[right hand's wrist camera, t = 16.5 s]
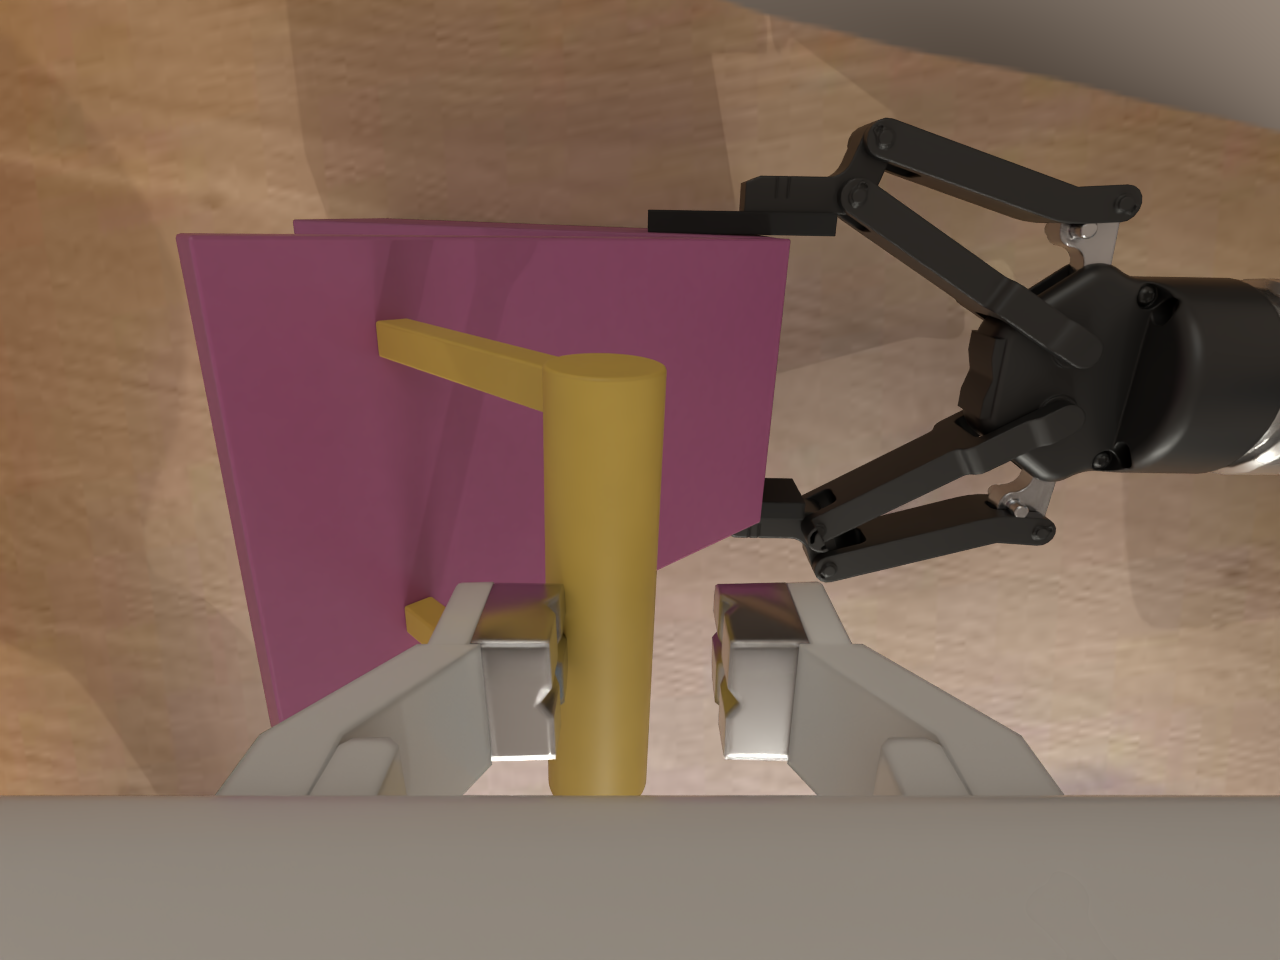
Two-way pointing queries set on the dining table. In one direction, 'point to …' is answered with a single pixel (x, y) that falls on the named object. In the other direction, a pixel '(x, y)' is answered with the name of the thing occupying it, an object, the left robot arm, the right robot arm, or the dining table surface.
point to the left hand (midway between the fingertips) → (645, 368)
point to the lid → (483, 443)
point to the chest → (474, 229)
